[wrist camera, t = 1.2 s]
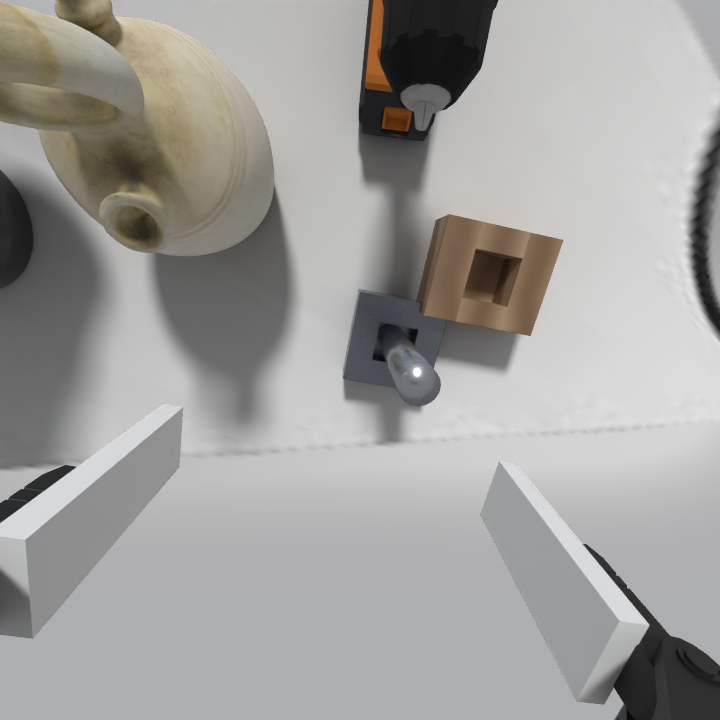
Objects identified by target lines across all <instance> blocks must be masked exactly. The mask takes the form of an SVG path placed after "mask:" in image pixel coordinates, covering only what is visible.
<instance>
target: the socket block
mask: <svg viewBox="0 0 720 720" xmlns="http://www.w3.org/2000/svg"><path fill="white" fill-rule="evenodd" d="M422 306H423V304H422V303H420V302H418V301H417V300H412V299H407V298H402V297H397V296H392V295H387V294H381V293H376V292H371V291H366V290H361V289H359V290H358V295H357V300H356V305H355V311H354V316H353V321H352V326H351V331H350V337H349V342H348V347H347V352H346V357H345V363H344V368H343V379H348V380H354V381H360V382H365V383H371V384H377V385H383V386H389V387H394V388H397V386H396V384H395V382H394V379H393V377H392V374H391V372H390V369H389V367H388V364H387V362H386V359H385V357H384V354H383V352H382V350H381V347H380V345H379V342H378V337H379V334H380V332H381V331H382V330H383V329H384V328H385V327H387V326H396V327H398V328H400V329H401V330H402V331H403V332H404V334H405V335H406V336H407V337H408V339H409V340H410V341H411V342H412V343H413V345H414V346H415V347H416V348H417V350H418V351H419V352H420V353H421V354H422V356H423V357H424V358H425V359H426V361H427V362H428V363H429V364H430V366H431V367H432V368H434V365H435V361H436V357H437V354H438V350H439V346H440V343H441V339H442V335H443V331H444V328H445V324H446V319H441V318H436V317H430V316H425V315H423V314H421V311H422Z"/></svg>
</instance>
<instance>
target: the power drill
mask: <svg viewBox="0 0 720 720" xmlns="http://www.w3.org/2000/svg"><path fill="white" fill-rule="evenodd" d="M497 3H498V0H369V6H368V17H367V28H366V38H365V49H364V60H363V70H362V81H361V92H360V102H359V121H360V122H362V133H365V134H372V135H380V136H388V137H395V138H403V139H411V140H418V141H424V139H425V138H426V136H427V134H428V130H429V129H430V127H431V126H432V124H433V122H434V118H435V113H437V112H439V111H441V110H445V109H447V108H448V107H450V106H451V105H452V104H454V103H455V102H456V101H457V100H458V98H459V97H460V96H461V94H462V93H463V92H464V90H465V89H466V88H467V87H468V85H469V84H470V83H471V81H472V80H473V79H474V77H475V76H476V75H477V73H478V72H479V71H480V69H481V66H482V63H483V58H484V53H485V48H486V43H487V39H488V34H489V29H490V24H491V19H492V14H493V10H494V9H495V8H496V5H497Z"/></svg>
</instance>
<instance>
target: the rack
mask: <svg viewBox="0 0 720 720" xmlns="http://www.w3.org/2000/svg"><path fill="white" fill-rule="evenodd" d="M562 243H563V240H561V239H556V238H552V237H548V236H543V235H539V234H534V233H530V232H525V231H521V230H516V229H512V228H508V227H503V226H499V225H494V224H490V223H485V222H481V221H477V220H472V219H468V218H463V217H459V216H454V215H450V214H449V215H447V216H444V217H442V218H440V219H438V220H436V222H435V226H434V230H433V234H432V239H431V243H430V247H429V251H428V255H427V259H426V263H425V268H424V272H423V276H422V280H421V284H420V288H419V292H418V297H417V301H418V302H420V303H422V304H423V306H422V311H421V314H423V315H425V316H430V317H436V318H441V319H446V320H451V321H456V322H461V323H466V324H472V325H477V326H482V327H487V328H492V329H497V330H502V331H508V332H513V333H518V334H523V335H528V336H531V333H532V330H533V327H534V324H535V321H536V318H537V315H538V312H539V310H540V307H541V304H542V301H543V298H544V295H545V292H546V289H547V286H548V283H549V280H550V278H551V275H552V272H553V269H554V266H555V263H556V260H557V257H558V254H559V251H560V248H561V246H562Z"/></svg>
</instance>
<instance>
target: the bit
mask: <svg viewBox="0 0 720 720" xmlns="http://www.w3.org/2000/svg"><path fill="white" fill-rule="evenodd" d="M378 342H379V345H380V347H381V350H382V352H383V354H384V357H385V359H386V362H387V364H388V367H389V369H390V372H391V374H392V377H393V379H394V382H395V384H396V386H397V389H398V391H399V394H400V396H401V398H402V399H403V400H404V401H405V402H406V403H408V404H410V405H414V406H422V405H426V404H428V403H430V402H432V401H433V400H434V399H435V398H436V397H437V395H438V393H439V391H440V387H441V382H440V378H439V376H438V374H437V373H436V372H435V370H434V369H433V368H432V367H431V366H430V364H429V363H428V362H427V361H426V359H425V358H424V357H423V356H422V354H421V353H420V352H419V351H418V350H417V348H416V347H415V346H414V345H413V343H412V342H411V341H410V340H409V339H408V337H407V336H406V335H405V334H404V332H403V331H402V330H401V329H400V328H398V327H396V326H387V327H385V328H384V329H383V330H382V331H381V332H380V334H379V337H378Z"/></svg>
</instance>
